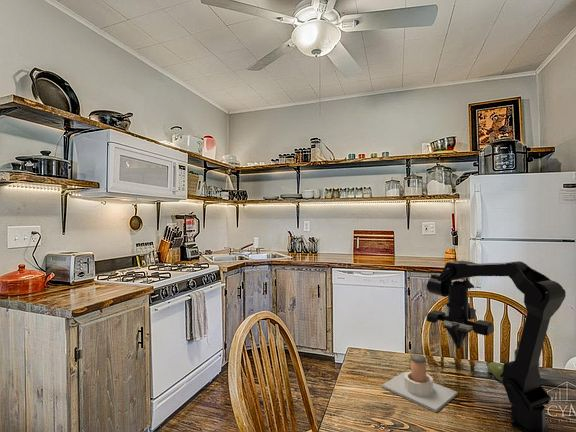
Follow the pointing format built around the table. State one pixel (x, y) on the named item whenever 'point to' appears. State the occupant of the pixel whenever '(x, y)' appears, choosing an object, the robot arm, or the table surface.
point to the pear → (496, 369)
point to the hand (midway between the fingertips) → (458, 348)
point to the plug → (418, 368)
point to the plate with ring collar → (420, 391)
